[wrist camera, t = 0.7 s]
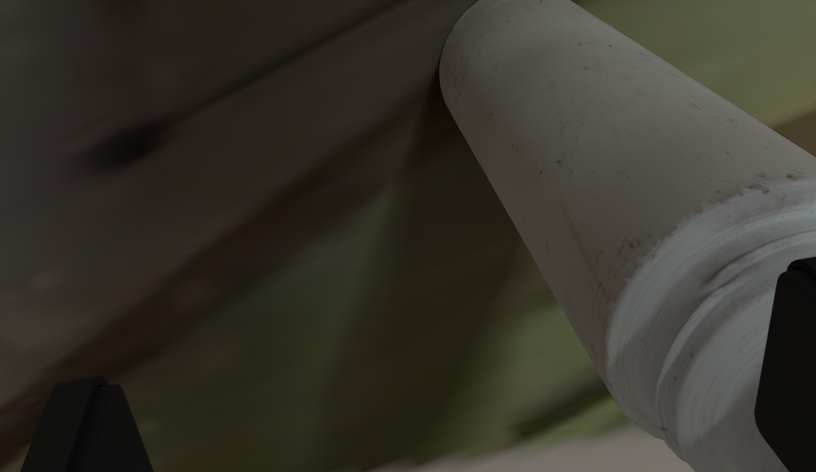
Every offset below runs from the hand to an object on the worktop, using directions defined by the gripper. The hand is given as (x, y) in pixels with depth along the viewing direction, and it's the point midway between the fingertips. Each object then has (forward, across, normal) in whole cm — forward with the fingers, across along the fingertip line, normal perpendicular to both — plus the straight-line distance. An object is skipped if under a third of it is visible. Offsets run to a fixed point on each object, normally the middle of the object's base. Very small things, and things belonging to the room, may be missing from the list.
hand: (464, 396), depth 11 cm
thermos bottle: (+28, -8, +5) cm, 30 cm away
